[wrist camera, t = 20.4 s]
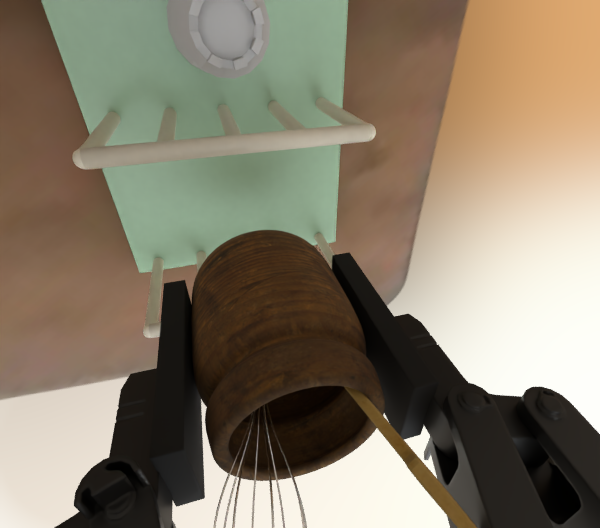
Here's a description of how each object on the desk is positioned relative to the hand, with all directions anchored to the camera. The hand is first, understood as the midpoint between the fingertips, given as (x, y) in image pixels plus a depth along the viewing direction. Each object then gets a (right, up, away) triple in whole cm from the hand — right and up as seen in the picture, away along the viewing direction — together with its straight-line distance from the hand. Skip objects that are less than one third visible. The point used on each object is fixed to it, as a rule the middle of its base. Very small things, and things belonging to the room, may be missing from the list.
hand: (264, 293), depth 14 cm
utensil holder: (0, +1, +1) cm, 1 cm away
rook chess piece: (-3, +14, +4) cm, 15 cm away
